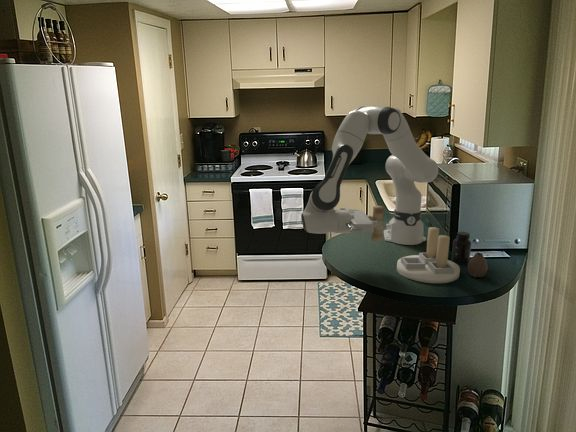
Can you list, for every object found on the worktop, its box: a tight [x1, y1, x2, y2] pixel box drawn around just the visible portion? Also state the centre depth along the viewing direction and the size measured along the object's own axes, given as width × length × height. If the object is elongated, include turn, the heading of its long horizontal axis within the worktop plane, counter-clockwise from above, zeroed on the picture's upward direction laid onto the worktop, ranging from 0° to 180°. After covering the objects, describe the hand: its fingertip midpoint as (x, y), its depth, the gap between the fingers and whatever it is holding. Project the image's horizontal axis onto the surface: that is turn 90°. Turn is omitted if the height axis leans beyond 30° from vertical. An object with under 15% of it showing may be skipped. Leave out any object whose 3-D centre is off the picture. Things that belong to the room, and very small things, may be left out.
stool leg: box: [371, 205, 385, 242], centre depth 185 cm, size 4×4×13 cm
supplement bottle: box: [451, 231, 472, 265], centre depth 194 cm, size 7×7×12 cm
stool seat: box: [396, 226, 461, 284], centre depth 183 cm, size 23×23×16 cm
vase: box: [467, 252, 489, 278], centre depth 180 cm, size 7×7×9 cm
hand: (380, 220), depth 185 cm, fingers closed on stool leg, 4 cm apart
